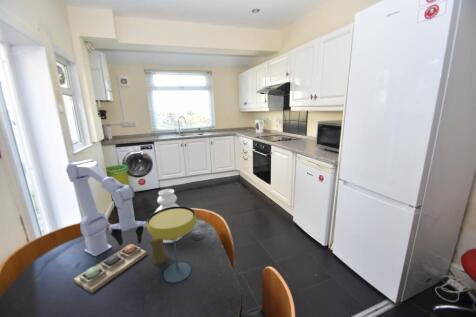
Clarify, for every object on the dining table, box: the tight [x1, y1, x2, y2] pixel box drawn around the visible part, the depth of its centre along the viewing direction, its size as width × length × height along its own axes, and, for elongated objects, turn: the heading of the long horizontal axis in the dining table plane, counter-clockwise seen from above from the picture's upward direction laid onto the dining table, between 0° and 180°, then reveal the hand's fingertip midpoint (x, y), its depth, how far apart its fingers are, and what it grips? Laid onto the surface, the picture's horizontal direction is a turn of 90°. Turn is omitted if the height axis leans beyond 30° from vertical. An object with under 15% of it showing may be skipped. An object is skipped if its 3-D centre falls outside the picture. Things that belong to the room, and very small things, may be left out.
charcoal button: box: [105, 253, 119, 266], centre depth 89 cm, size 4×4×2 cm
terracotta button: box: [123, 243, 136, 254], centre depth 96 cm, size 4×4×2 cm
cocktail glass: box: [146, 205, 197, 284], centre depth 83 cm, size 18×18×25 cm
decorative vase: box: [154, 188, 183, 244], centre depth 109 cm, size 18×18×25 cm
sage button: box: [84, 265, 100, 279], centre depth 82 cm, size 4×4×2 cm
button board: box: [73, 245, 148, 294], centre depth 90 cm, size 12×24×3 cm, turn 152°
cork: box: [150, 236, 167, 265], centre depth 92 cm, size 6×6×11 cm
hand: (130, 243), depth 91 cm, fingers open, 7 cm apart
